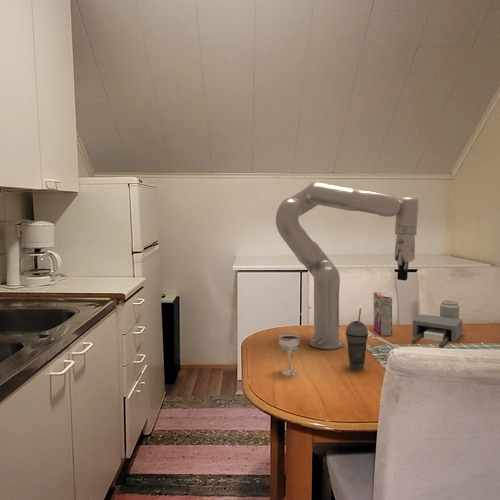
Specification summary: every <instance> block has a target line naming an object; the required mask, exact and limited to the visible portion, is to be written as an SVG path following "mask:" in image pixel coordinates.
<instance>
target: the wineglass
mask: <svg viewBox="0 0 500 500" xmlns="http://www.w3.org/2000/svg"><path fill="white" fill-rule="evenodd" d="M300 336H301V335H299V334H297V333H292V332H291V333H290V332H288V333H282V334H279V335H278V337H279V340H278V344H279V345H278V346H279V348H280V349H281V350H282V351H284V352H286V353H287V355H288V369H285V370H282V375H285V376H290V377H291V376H295V375H298V371H297V370H294V369H291V364H292V363H291V360H292V359H291V357H292V354H293V352H296V351H297V350H298V349H299V347H300V345H301V340H300Z"/></svg>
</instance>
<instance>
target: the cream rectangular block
mask: <svg viewBox="0 0 500 500" xmlns="http://www.w3.org/2000/svg"><path fill="white" fill-rule="evenodd" d="M448 330H449V329H442V328H435V327H430V328H428V329H427V330H426V331H425V332H424V336H423V340H428V341H433V340H434V342H439V341H440V342H439V343H441V342H442V341H443V340H444V339H445V338H446V336H447V335H448Z"/></svg>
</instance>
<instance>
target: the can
mask: <svg viewBox="0 0 500 500" xmlns="http://www.w3.org/2000/svg"><path fill="white" fill-rule="evenodd" d="M439 317H447V318H455V319H460V306H459V302H457V301H456V300H455V301H454V300H442V301H441V303H440V304H439Z"/></svg>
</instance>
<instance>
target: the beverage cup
mask: <svg viewBox="0 0 500 500" xmlns="http://www.w3.org/2000/svg"><path fill="white" fill-rule="evenodd" d="M361 311H362V308H359V311H358V320H354V321H351V322H350V323H348V325H347V327H346V330H345V336H346V337H345V338H346V342H347V353H348V363H349V368H350V369H351V370H353V371H362V370H364V368H365V362H366V361H365V360H366V350H367V343H368V338H369V337H368V334H369V333H368V332H369V330H368V328H367V326H366V324H365V323H363V322H362V321H360V320H361V313H362V312H361Z"/></svg>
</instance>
